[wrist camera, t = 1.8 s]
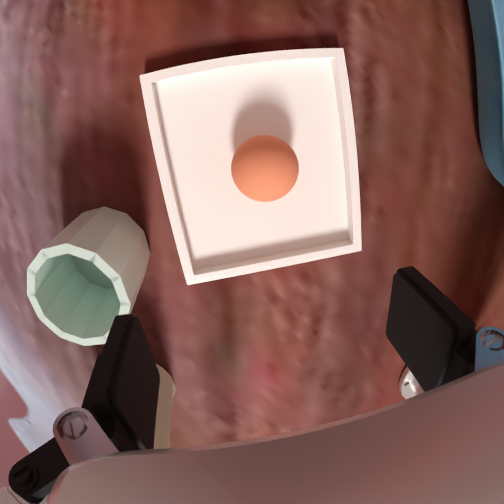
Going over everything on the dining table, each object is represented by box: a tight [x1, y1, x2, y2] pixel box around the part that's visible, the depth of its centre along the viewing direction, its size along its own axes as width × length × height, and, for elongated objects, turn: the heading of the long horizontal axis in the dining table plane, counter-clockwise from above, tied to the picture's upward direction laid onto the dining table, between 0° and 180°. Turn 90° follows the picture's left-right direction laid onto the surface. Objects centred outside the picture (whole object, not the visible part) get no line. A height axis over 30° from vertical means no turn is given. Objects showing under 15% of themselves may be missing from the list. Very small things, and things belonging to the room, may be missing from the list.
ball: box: [231, 135, 299, 202], centre depth 23 cm, size 5×5×5 cm
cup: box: [27, 207, 150, 346], centre depth 24 cm, size 8×8×8 cm
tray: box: [140, 48, 361, 285], centre depth 25 cm, size 16×18×2 cm
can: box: [154, 364, 175, 449], centre depth 29 cm, size 9×9×12 cm
